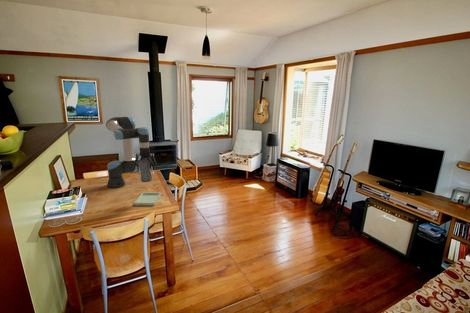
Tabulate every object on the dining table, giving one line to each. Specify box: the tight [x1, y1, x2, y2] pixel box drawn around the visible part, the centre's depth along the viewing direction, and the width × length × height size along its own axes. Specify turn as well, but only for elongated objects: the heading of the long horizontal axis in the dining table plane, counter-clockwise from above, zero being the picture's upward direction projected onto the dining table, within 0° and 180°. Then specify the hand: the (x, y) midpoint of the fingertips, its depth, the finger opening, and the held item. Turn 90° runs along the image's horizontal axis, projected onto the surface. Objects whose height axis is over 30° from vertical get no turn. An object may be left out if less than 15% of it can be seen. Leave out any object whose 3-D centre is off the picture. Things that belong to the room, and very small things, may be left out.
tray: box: [133, 191, 162, 207], centre depth 201 cm, size 21×16×2 cm
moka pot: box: [136, 157, 153, 183], centre depth 194 cm, size 10×15×20 cm, turn 135°
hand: (146, 173), depth 195 cm, fingers closed on moka pot, 9 cm apart
